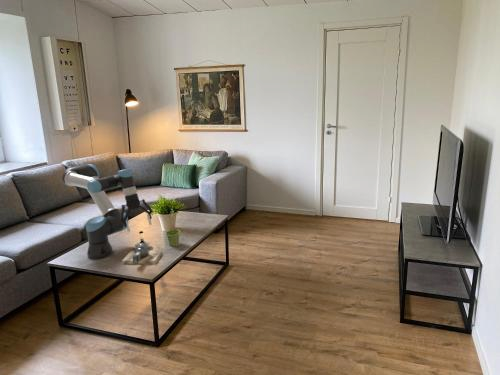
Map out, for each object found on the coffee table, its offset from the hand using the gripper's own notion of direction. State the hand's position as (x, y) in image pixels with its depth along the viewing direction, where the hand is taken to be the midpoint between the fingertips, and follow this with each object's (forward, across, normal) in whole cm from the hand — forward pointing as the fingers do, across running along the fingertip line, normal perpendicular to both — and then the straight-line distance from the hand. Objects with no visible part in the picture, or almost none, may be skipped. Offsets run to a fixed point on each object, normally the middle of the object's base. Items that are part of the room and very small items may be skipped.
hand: (139, 228), depth 229 cm
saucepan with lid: (+17, -5, -2) cm, 18 cm away
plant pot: (+19, +21, +10) cm, 30 cm away
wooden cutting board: (+19, -3, +1) cm, 19 cm away
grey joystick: (+16, +2, +16) cm, 23 cm away
